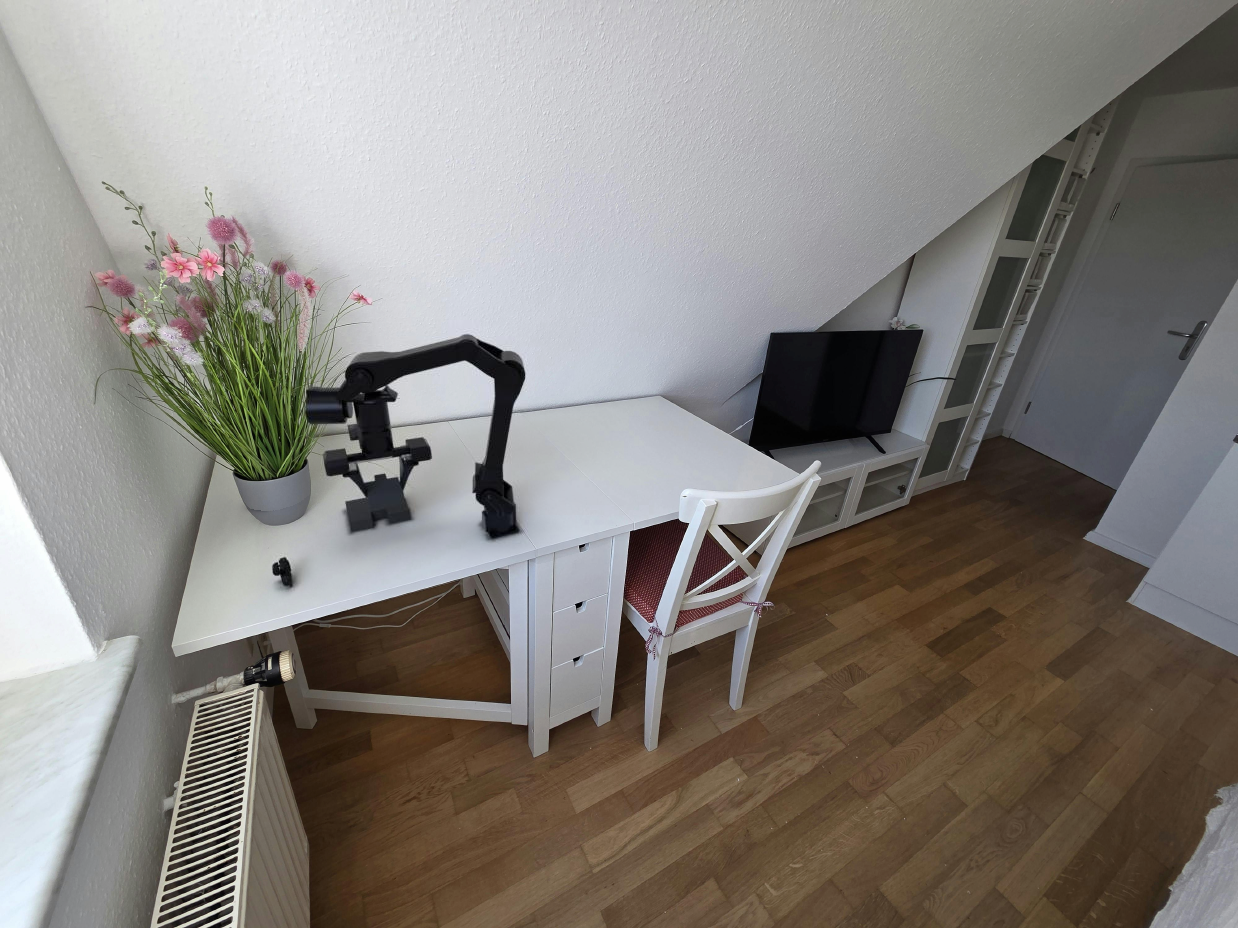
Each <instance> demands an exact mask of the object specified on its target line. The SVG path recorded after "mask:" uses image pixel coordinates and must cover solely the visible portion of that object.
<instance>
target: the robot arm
mask: <svg viewBox="0 0 1238 928" xmlns="http://www.w3.org/2000/svg"><path fill="white" fill-rule="evenodd" d="M461 362H467V363H468V364H471V365H472V366H474V367H475V368H476V369H478V370H479V371H480V372H482V373H483V374H484V375H486V376H488V377H490V378H492V379H493V385H494V386H493V388H494V391H493V392H494V397H493V398H494V399H493V405H492V409H491V410H492V411H491V417H490V418H491V419H490V424H489V430H488V435H487V442H486V449H485V455H484V457H483V460H482V462H474V474H473V475H472V488H471V489H472V490H471V491H472V492H471V493H472V494H474V495H475V500H476V502H477V503H478V504H480V506H483V510H481V524H482V525H481V526H482V528H483V530H484V531H485V533H487V535H488V537H489V538H490V539H497V538H501V537H505V536H508V535H513V534H516V533H519V532H520V528H519V527H518V525H517V504H516V503H515V500H514V490H513V486H512V485H511V484H510V483H509V482H508V481H506V480H505V479H504V462H505V456H506V451H507V445H508V438H509V433H510V427H511V423H512V416H513V411H514V407H515V406H514V405H515V403H516V401H517V399H518V397H519V396H520V394H521V392H522V391H521V390H522V389H523V387H524V383H525V381H526V369H525V365H524V361H523V359H522V357H521V356H520V355H519V354H518V353H517V352H515V351H512V350H504V349H501V348H499V347H498V346H496V345H494V344H491V343H488V342H486V341H483V340H481V339H479V338H477V337H476V336H475V335H472V334H469V333H465V334H462V335H460V336H458V337H453V338H450V339H446V340H441V341H437V342H433V343H429V344H426V345H421V346H417V347H413V348H409V349H404V350H400V351H383V350H382V351H366V352H360V353H359V354H356V355H355V356H354V357H353V358H352V360H351V361H350V362H349V364H348V366H347V367H346V369H345V371H344V380H343V381H342V383H341V385H340V386H339V387H338V386H336V387H331V386H329V387H326V386H325V387H323V386H322V387H321V386H316V385H315V386H313V385H312V386H309V387H308V388H307V389H306V390H305V394H306V399H305V410H304V413H305V417H306V420H307V422H308V424H310V425H346V424H347V422H348V420H349V419H352V418H353V415H354V416H355V423H351V424H347V425H346V426H347V432H348V437H349V440H350V441H351V442H354V441H358V445H359V449H360V451H361V452H356V453H355V452H354V453H349V454H347V450H346V448H345V447H344V448H343V447H342V448H336V449H332V450H331V449H330V450H325V451H324V452H323V454H322V460H323V466H324V470H325V475H326V476H327V477H335V476H336V477H337V476H342V478H344V479H346V478H349V479H350V480H351V481H352V482H353V483H354V484H355V485H356V486H357V487H358V488H359V490H360V491H361V493H362V495H363V496H364V498H366V497H368V496H367V490H366V486H365V481H364V478H363V475H362V472H361V469H360V466H359V464H362V463H369V462H375V461H380V460H381V461H382V460H388V459H395V458H398V462H399V481H400V484H401V487H402V489H403V491H405V488H406V485H407V483H408V479H409V477H410V475H411V473H412V471H413V470H414V467H417V466H419V464H420V462H426V461H431V460H432V459H433V454H432V449H431V446H430V444H429V442H428V440H427V439H426V438H425V437H423V436H421V437H413V438H407V439H405V444H402V445H399V446H396V447H395V445H394V440H393V439H394V438H393V431H392V426H391V419H390V418H391V417H390V411H389V404H388V403H395V402H396V401H397V398H398V396H399V393H398V392H397V391H396V390H394V389H392V388H391V387H390V386H389V385H390V384H392V383H394V382H395V381H397V380H398V379H400V378H403V377H406V376H410V375H414V374H418V373H421V372H425V371H429V370H434V369H437V368H442V367H446V366H449V365H453V364H457V363H461Z"/></svg>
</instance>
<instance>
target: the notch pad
mask: <svg viewBox="0 0 1238 928" xmlns="http://www.w3.org/2000/svg"><path fill="white" fill-rule="evenodd" d="M344 504H345V509H346V514H347V518H348V524H349V527H350V533H354V532H359V531H363V530H368V529H373V528H374V527H375V526H374V521H378V520H379V521H380V520H384V519H387V520H388V523H389V524H390V525H392V524H395V523H400V522H404V521H410V520H411V512H410V507H409V505H408V503H407V500H406V498H405V503H403V504H398V505H393V506H388V507H383V508H378V509H373V510H371V509H370V505H369V502H368V498H367V497H361V498H356V499H349V500H345V502H344Z"/></svg>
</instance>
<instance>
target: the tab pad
mask: <svg viewBox="0 0 1238 928" xmlns="http://www.w3.org/2000/svg"><path fill="white" fill-rule="evenodd" d="M373 477H374V480H372V481H371V480H370V481H366V482H365V481H364V483H365V486H366V490H367V496H368V497H367V498H368V502H369V505H370V509H371V510H373V509H378V508H383V507H388V506H393V505H398V504H403V503H405V499H406V497H405V492H404V490H403V489H402V487H401V484H400V477H399V476H395V477H394V476H393V477H387V475H386V473H378V474H374V475H373Z"/></svg>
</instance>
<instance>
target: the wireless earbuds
mask: <svg viewBox="0 0 1238 928" xmlns="http://www.w3.org/2000/svg"><path fill="white" fill-rule="evenodd" d="M271 570H272V574H273V576H274V577H278V576H280V581H281V583H282V585H283V586H284V587H289V588H293V587H294V585H293V574H292V568H291V564H290V561H289V560H288V559H287V557H286V556H283V557H280V558H279V559H278V561H275V562H274V563H273V564H272V565H271Z"/></svg>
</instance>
